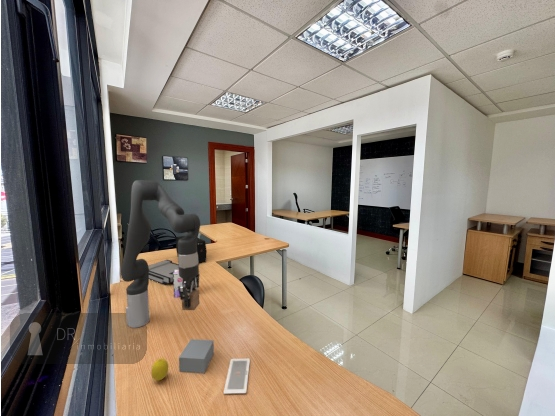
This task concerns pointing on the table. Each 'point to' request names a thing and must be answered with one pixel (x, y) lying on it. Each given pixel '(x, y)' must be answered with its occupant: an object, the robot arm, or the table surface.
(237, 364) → the touchpad
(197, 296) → the walnut block
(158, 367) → the lemon
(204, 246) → the uninterruptible power supply
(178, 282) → the candy box
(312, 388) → the table surface
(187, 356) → the base block
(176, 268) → the game console
